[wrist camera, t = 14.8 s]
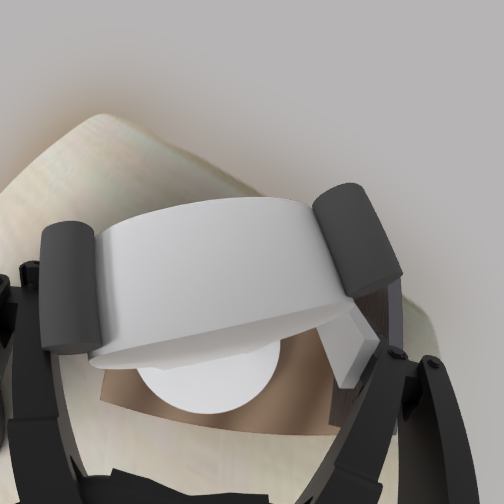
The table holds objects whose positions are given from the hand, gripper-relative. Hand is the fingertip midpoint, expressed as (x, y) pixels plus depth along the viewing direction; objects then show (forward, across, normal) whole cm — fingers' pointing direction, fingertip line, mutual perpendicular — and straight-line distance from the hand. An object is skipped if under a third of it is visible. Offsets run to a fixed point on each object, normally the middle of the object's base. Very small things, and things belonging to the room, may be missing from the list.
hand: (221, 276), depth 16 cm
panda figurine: (+3, 0, -6) cm, 7 cm away
